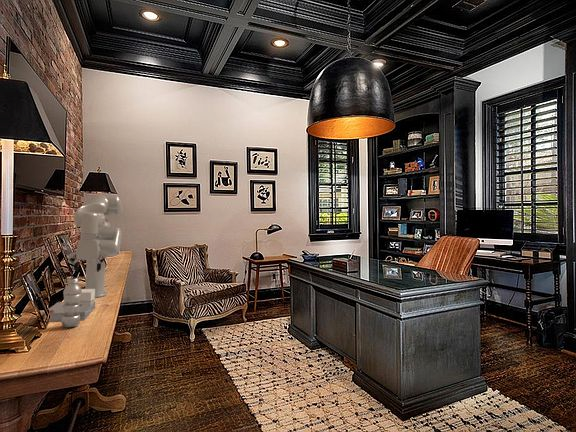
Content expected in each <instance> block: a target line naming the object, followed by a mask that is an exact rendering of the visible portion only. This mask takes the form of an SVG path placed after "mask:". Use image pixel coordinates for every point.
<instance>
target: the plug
mask: <svg viewBox="0 0 576 432" xmlns="http://www.w3.org/2000/svg"><path fill="white" fill-rule="evenodd" d="M81 290H82V293H81V297H80V302H85V301H95V298H96V297H95V289H85V288H81Z"/></svg>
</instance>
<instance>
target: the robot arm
mask: <svg viewBox="0 0 576 432" xmlns="http://www.w3.org/2000/svg"><path fill="white" fill-rule="evenodd" d="M122 202H123V201H122V199H121V197H120V196H119V195H116V194H105V193H104V194H96V195H95V196H94V197H93V200H92V201H91V202H90V203H88V204H85V205H82V206H80V207H78V208H77V210H76V211H75V214H74V215H73V222H74V225H76V226H77V227H80V239H78V242H77V247H76V251H74V252H72V253H69V254H68V257H69V259H70V261H71V262H72V264H74V265H73V270H74V272H78V271H79V265H80V264H79V261H86V267H85V268H86V269H85V282H84V283H85V284H84V285H85V286H84V287H85V288H84V289H95V298H100V297H101V298H102V297H105V296H107V295H108V292H107V291H105V281H106V276H105V275H106V262H105V260H106V258H107V257H116V256H118V255H119V253H120V251H121V244H122V238H123V236H122V235H123V233H122V228H120V227H117V226H111V223H110V221H109V220H108V219H107V218H106V216H111V217H117V216H118V217H119V216H121V215H122V214H123V210H124V207H123V203H122ZM74 256H75V257H76V259H75V257H74Z"/></svg>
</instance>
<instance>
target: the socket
mask: <svg viewBox="0 0 576 432" xmlns="http://www.w3.org/2000/svg"><path fill="white" fill-rule="evenodd" d="M95 306H96V301H95V300H94V301H85V302H80V303H79V315H80V321H85V320H86V319H87V318H88V317H89V316H90V314H91V313H92V312H93V311H94V310H95V309H96V307H95ZM48 309H49V315H50V321H49V322H61V321H62V317H63V312H64V301H58V302H56V303H55V304H54V305H52V306H50V307H49V308H48Z"/></svg>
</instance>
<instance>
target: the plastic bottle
mask: <svg viewBox="0 0 576 432" xmlns="http://www.w3.org/2000/svg"><path fill="white" fill-rule="evenodd" d="M78 283H79V278H78V277H69V278H67V286H66V287H65V288H64V289H63V293H62V294H63V302H64V312H63V317H62V321H60V322H61V327H63V328H67V329H69V328H74V327H77V326H79V324H80V321H81V320H80V315H79V303H80V297H81V293H82V290H81V289H82V287H81V286H80V284H78Z"/></svg>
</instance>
